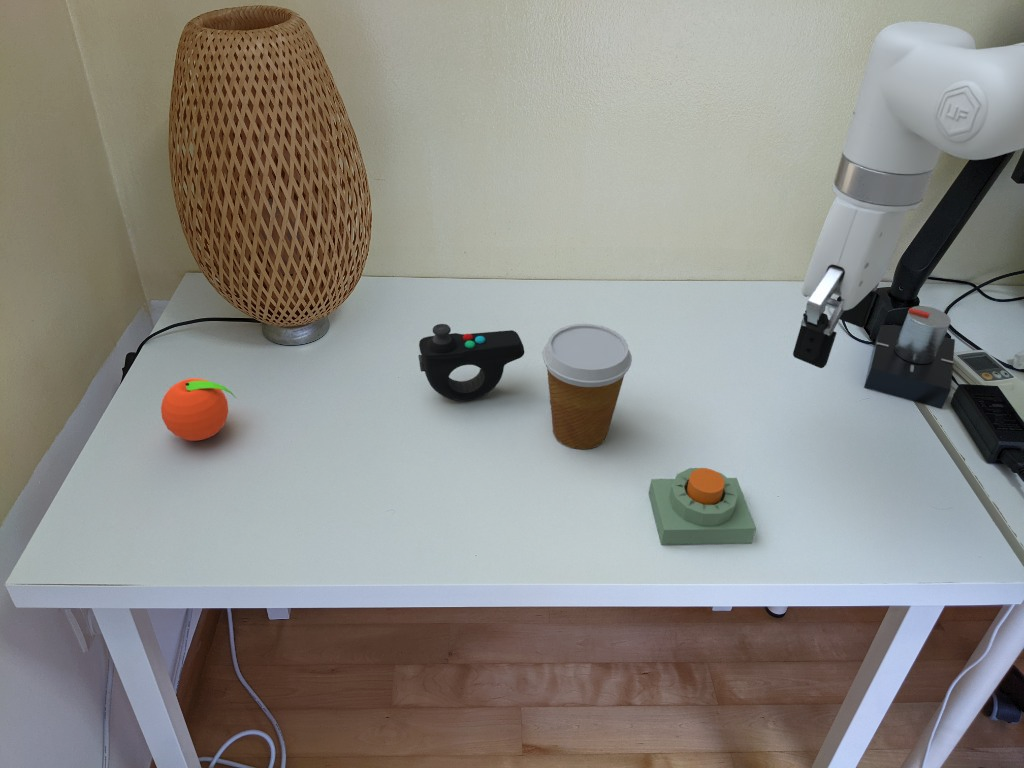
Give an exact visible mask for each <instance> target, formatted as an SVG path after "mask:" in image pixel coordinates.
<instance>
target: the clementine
mask: <svg viewBox="0 0 1024 768" xmlns="http://www.w3.org/2000/svg"><path fill="white" fill-rule="evenodd" d="M224 391H225V392H227V393H229V394H231V396H233V397H234V398H236V399H237V397H236V396H235V394H234V393H233V392H232V391H231V390H230V389H228V388H227V387H226V386H224V385H222V384H220V383H217V382H213V381H210V380H207V379H205V378H195V377H193V378H186V379H183V380H180V381H179V382H177V383H174V384H173V385H172V386H171V387H169V389H168V390H167V391H166V393H165V394H164V395H163V399H162V402H161V407H160V414H161V419H162V421H163V423H164V425H165V426H166V428H167V430H168V431H169V432H171V434H173V435H174V436H176V437H178V438H180V439H183V440H186V441H190V442H194V441H195V442H196V441H197V442H198V441H202V440H206V439H209V438H211V437H213V436H215V435H217V433H218V432H220V431H221V429H222V428H223V426H224V425H225V424H226V422H227V419H228V415H229V404H228V403H229V402H228V399H227V396H226V395H225V393H224Z"/></svg>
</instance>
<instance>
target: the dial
mask: <svg viewBox="0 0 1024 768" xmlns="http://www.w3.org/2000/svg"><path fill="white" fill-rule="evenodd" d="M951 323H952V322H951V318H950V316H949V315H948V314H946V313H945V312H944V311H942V310H940V309H938V308H934V307H931V306H926V305H916V306H912V307H909V309H908V311H907V313H906V316H905V318H904V322H903V324H902V325H901V326H902V329H901V331H900V334H899V336H898V339H897V342H896V344H895V347H894V350H895V352H896V354H897V355H898V356H900V357H901V358H903V359H904V360H907V361H909V362H912V363H917V364H928V363H931V362H933V361H934V360H935V358H936V355H937V353H938V351H939V348H940V346H941V344H942V341H943V339H944V337H946V334H947V333H948V330H949V327H950V325H951Z"/></svg>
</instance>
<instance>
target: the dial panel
mask: <svg viewBox="0 0 1024 768" xmlns="http://www.w3.org/2000/svg"><path fill="white" fill-rule="evenodd" d="M880 325H881V324H880ZM902 326H903V325H898V324H893V325H883V326H882V325H881V326H879V328H880V329H879V328H878V330H879V332H878V331H877V333H878V334H876V335H875V338H874V343H873V347H872V350H871V355H870V359H869V364H868V368H867V373H866V377H865V381H864V385H863V388H865V389H869V390H872V391H876V392H879V393H882V394H885V395H886V394H887V395H890V396H894V397H897V398H902V399H905V400H908V401H913V402H916V403H920V404H922V405H926V406H931V407H934V408H938V409H941V410H943V407H944V405H945V403H946V401H947V399H948V396H949V394H950V392H951V389H952V381H953V380H952V379H953V370H954V369H953V367H954V364H955V363H954V359H955V358H954V356H955V345H956V339H954V338H950V337H947V336H945V337H944V339H943V341H942V344H941V346H940V348H939V351H938V353H937V355H936V358H935V360H934V361H933V362H931V363H928V364H917V363H912V362H909V361H907V360H904V359H903V358H901V357H900V356H898V355H897V354H896V352H895V350H894V347H895V344H896V342H897V339H898V336H899V334H900V331H901V329H902Z"/></svg>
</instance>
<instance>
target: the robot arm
mask: <svg viewBox="0 0 1024 768" xmlns="http://www.w3.org/2000/svg"><path fill="white" fill-rule="evenodd" d="M976 46H977V45H976V41H975V39H974V37H973V36H972V35H971V34H970V33H969V32H968V31H965V30H964V29H962V28H959V27H957V26H954V25H949V24H945V23H939V22H930V21H915V20H914V21H913V20H912V21H899V22H896V23H892V24H889V25H887V26H885V27H884V28H882V30H880V31H879V33H878V34H877V35H876V37H875V38H874V40H873V43H872V46H871V49H870V52H869V55H868V59H867V62H866V66H865V69H864V72H863V76H862V80H861V84H860V87H859V91H858V94H857V98H856V101H855V104H854V108H853V112H852V116H851V119H850V122H849V125H848V130H847V133H846V137H845V141H844V143H843V147H842V151H841V155H840V158H839V162H838V164H837V169H836V172H835V175H834V176H835V177H834V180H833V182H832V186H831V187H832V188H831V190H832V192H833V193H834V194H835V198H834V200H833V202H832V204H831V205H830V208H829V210H828V213H827V215H826V218H825V220H824V222H823V225H822V228H821V230H820V233H819V235H818V239H817V241H816V244H815V247H814V250H813V253H812V256H811V259H810V262H809V264H808V267H807V271H806V274H805V277H804V280H803V283H802V287H801V295H802V296H803V297H806V298H807V297H808V299H807V302H806V304H805V305H806V306H805V307H806V308H805V309H806V310H805V311H804V313H803V315H802V316H803V317H802V319H801V322H800V328H799V331H798V334H797V338H796V341H795V345H794V348H793V351H792V356H793V357H794V358H795V359H797V360H799V361H802V362H804V363H807V364H809V365H811V366H813V367H817V368H819V369H823V368H825V367H826V366H827V364H828V362H829V359H830V354H831V352H832V349H833V346H834V342H835V340H836V337H837V334H838V332H837V331H834V330H835V328H836V327H837V325H838V322H839V321H842V322H845V323H847V324H850V325H853V326H856V327H858V328H863V327H864V326H865V325H866V323H867V321H868V318H869V315H870V312H871V310H872V306H873V304H874V300H875V298H876V295H877V292H876V291H877V289H878V287H879V286H880V282H881V281H882V280H883V278H884V277H885V275H886V273H887V272H888V270H889V267H890V264H891V262H892V260H893V258H894V254H895V252H896V250H897V246H898V244H899V240H900V237H901V234H902V231H903V228H904V224H905V222H906V218H907V214H908V212H910V211H914V210H917V209H919V208H920V207H921V206H922V205H923V202H924V198H925V196H926V193H927V191H928V187H929V185H930V182H931V180H932V176H933V173H934V171H935V169H936V165H937V163H938V160H939V158H940V155H941V152H942V151H943V152H944V153H947V154H948V155H951V156H953V157H955V158H959V159H963V160H971V161H979V160H987V159H992V158H995V157H999V156H1002V155H1005V154H1009V153H1013V152H1015V151H1019V150H1022V149H1024V42H1018V43H1014V44H1010V45H1006V46H1005V45H1004V46H996V47H988V48H987V47H986V48H978V49H977V47H976ZM833 295H835V296H838V299H835V298H832V296H833ZM826 307H829V308H831V309H834V310H833V312H832V313H831V316H830V317H828V314H827V313H825V311H826Z"/></svg>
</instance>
